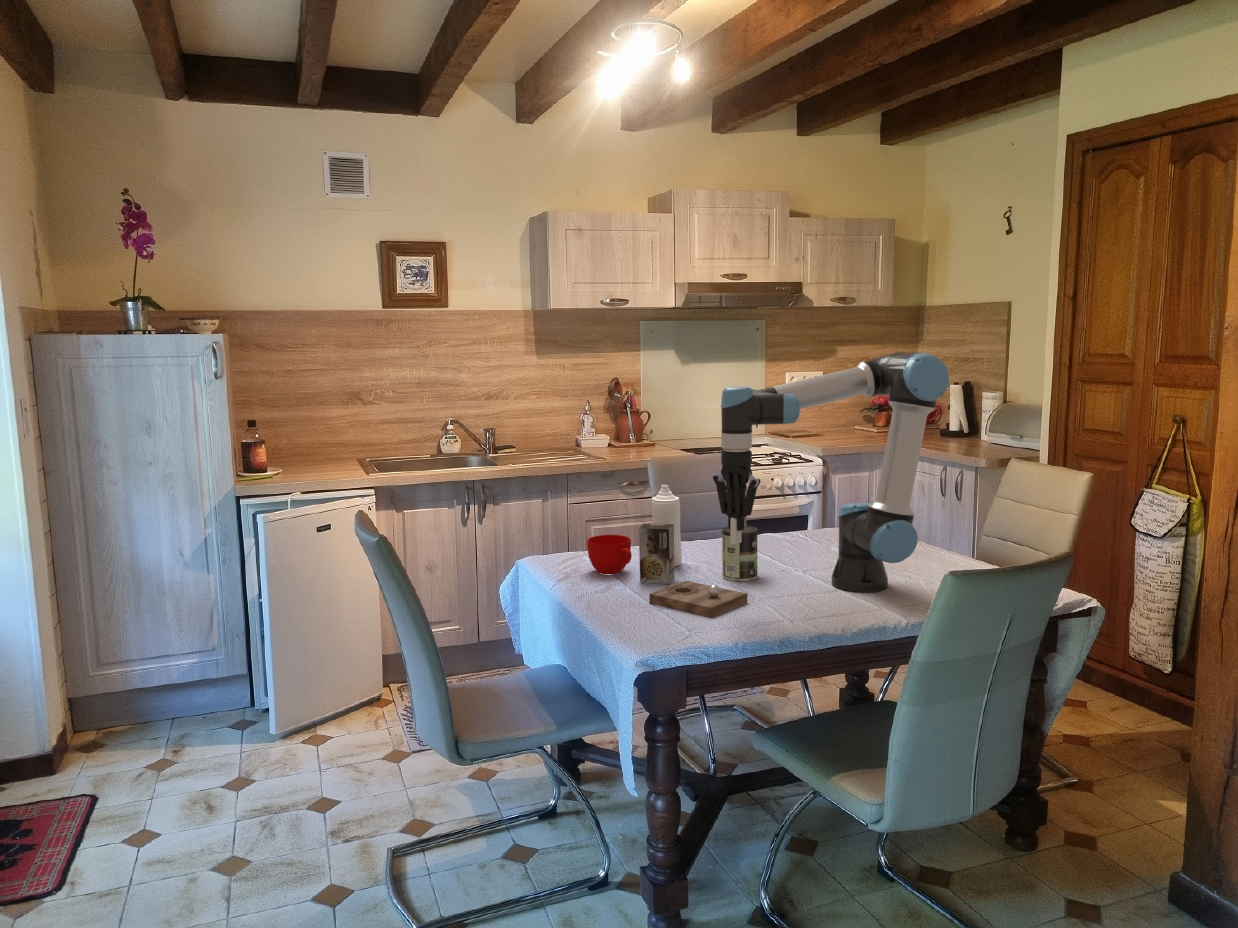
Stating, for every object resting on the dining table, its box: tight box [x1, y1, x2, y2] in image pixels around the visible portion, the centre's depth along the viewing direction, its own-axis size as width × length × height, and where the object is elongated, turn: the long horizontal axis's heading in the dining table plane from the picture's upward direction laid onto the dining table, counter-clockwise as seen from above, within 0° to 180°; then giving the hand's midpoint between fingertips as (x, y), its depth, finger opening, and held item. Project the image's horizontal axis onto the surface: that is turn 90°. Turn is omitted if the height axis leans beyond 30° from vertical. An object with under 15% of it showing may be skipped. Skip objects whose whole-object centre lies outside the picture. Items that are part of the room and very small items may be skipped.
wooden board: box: [649, 580, 748, 618], centre depth 246 cm, size 20×16×2 cm
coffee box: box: [638, 522, 676, 585], centre depth 267 cm, size 9×6×16 cm
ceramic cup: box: [586, 534, 633, 575], centre depth 276 cm, size 13×17×10 cm
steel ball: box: [708, 584, 721, 597], centre depth 243 cm, size 3×3×3 cm
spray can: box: [650, 484, 683, 567], centre depth 284 cm, size 12×11×25 cm
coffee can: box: [721, 525, 759, 582], centre depth 270 cm, size 10×10×14 cm
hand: (735, 542), depth 236 cm, fingers closed
